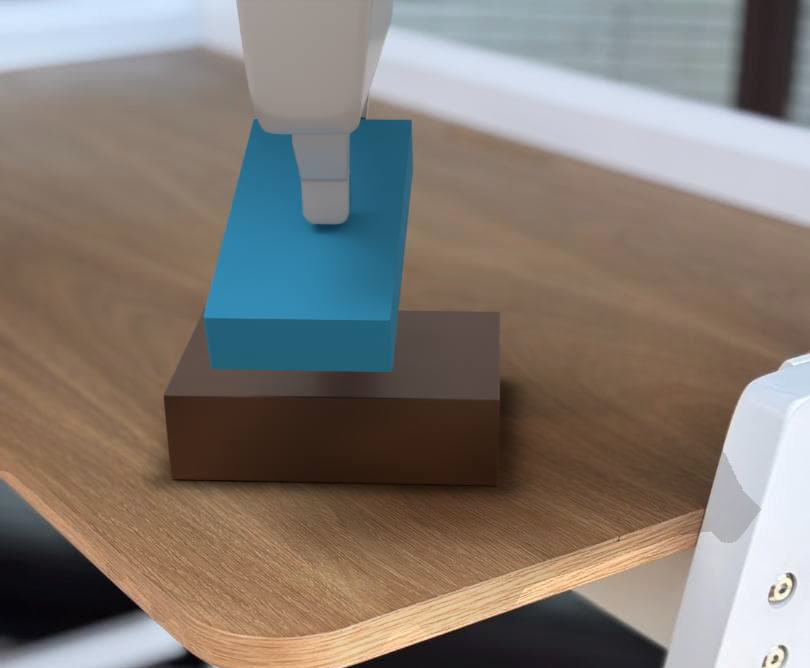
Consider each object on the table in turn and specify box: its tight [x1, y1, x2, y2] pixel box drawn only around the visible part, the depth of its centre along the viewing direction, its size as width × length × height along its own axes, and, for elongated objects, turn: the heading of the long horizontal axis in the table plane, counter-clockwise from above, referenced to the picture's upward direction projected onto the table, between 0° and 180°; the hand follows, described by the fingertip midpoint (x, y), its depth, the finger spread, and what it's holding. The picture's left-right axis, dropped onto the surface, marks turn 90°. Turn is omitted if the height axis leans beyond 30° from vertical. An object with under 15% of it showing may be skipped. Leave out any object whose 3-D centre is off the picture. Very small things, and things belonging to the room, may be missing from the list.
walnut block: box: [162, 307, 501, 486], centre depth 67 cm, size 14×10×4 cm
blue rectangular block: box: [203, 118, 414, 372], centre depth 63 cm, size 7×7×18 cm
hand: (337, 187), depth 63 cm, fingers closed on blue rectangular block, 7 cm apart
